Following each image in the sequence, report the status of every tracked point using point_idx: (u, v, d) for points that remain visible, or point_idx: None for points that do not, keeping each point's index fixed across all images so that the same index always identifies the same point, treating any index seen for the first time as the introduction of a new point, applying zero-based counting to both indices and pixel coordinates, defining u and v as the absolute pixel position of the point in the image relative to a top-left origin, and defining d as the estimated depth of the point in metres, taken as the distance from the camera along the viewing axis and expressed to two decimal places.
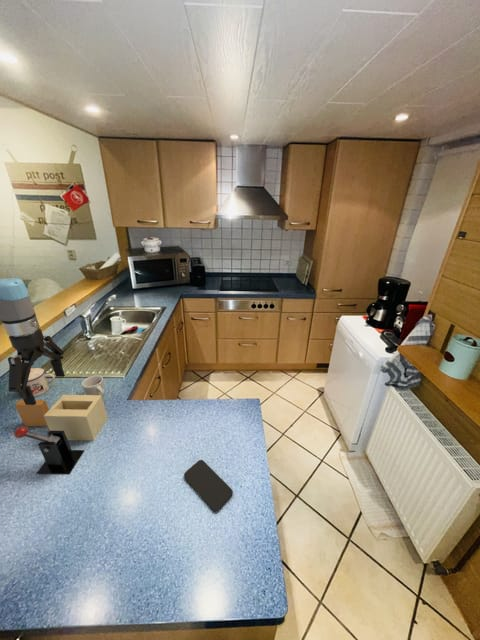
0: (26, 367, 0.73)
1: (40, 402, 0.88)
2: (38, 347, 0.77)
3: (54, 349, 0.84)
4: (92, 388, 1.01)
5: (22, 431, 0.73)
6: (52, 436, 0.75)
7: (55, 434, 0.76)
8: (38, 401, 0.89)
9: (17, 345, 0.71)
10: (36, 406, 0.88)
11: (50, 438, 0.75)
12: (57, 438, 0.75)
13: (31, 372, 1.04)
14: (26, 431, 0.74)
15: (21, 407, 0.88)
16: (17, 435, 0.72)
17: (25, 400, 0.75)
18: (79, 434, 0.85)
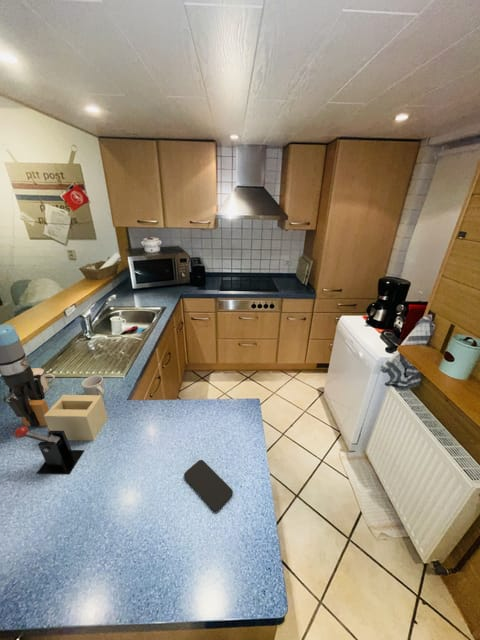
0: (23, 400, 0.85)
1: (40, 402, 0.88)
2: (29, 381, 0.86)
3: (38, 390, 0.91)
4: (92, 388, 1.01)
5: (22, 431, 0.73)
6: (52, 436, 0.75)
7: (55, 434, 0.76)
8: (38, 401, 0.89)
9: (9, 383, 0.80)
10: (36, 406, 0.88)
11: (50, 438, 0.75)
12: (57, 438, 0.75)
13: None
14: (26, 431, 0.74)
15: None
16: (17, 435, 0.72)
17: (30, 422, 0.90)
18: (79, 434, 0.85)
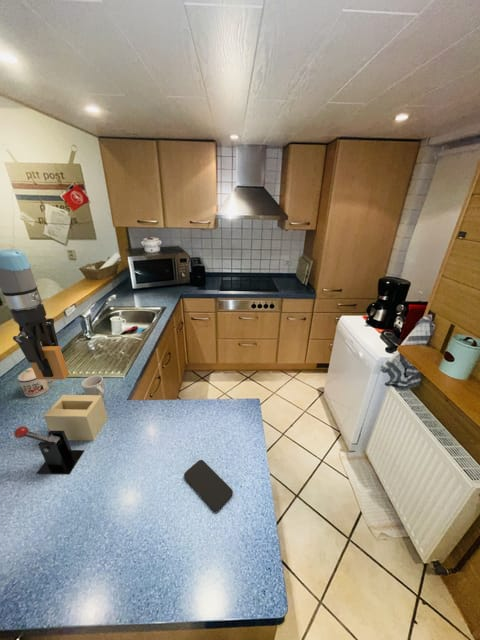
0: (35, 342, 0.74)
1: (54, 348, 0.77)
2: (41, 322, 0.75)
3: (51, 337, 0.80)
4: (92, 388, 1.01)
5: (22, 431, 0.73)
6: (52, 436, 0.75)
7: (55, 434, 0.76)
8: (51, 347, 0.78)
9: (19, 319, 0.69)
10: (50, 352, 0.76)
11: (50, 438, 0.75)
12: (57, 438, 0.75)
13: (31, 372, 1.04)
14: (26, 431, 0.74)
15: None
16: (17, 435, 0.72)
17: (43, 372, 0.79)
18: (79, 434, 0.85)
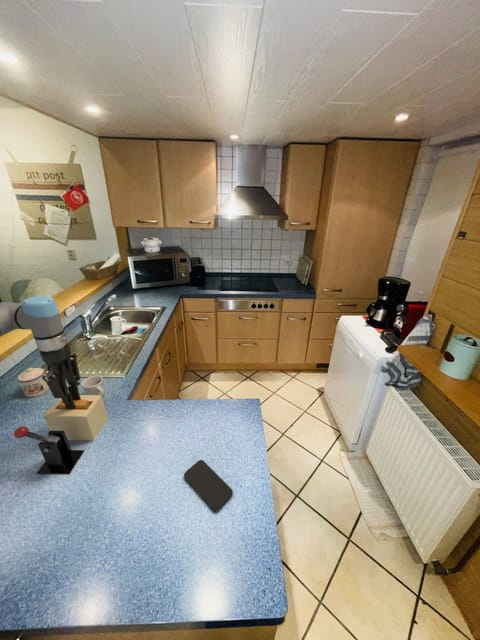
0: (61, 379, 0.79)
1: (83, 402, 0.86)
2: (66, 360, 0.80)
3: (74, 371, 0.85)
4: (92, 388, 1.01)
5: (22, 431, 0.73)
6: (52, 436, 0.75)
7: (55, 434, 0.76)
8: (81, 401, 0.86)
9: (47, 360, 0.74)
10: (80, 406, 0.85)
11: (50, 438, 0.75)
12: (57, 438, 0.75)
13: (31, 372, 1.04)
14: (26, 431, 0.74)
15: (64, 407, 0.85)
16: (17, 435, 0.72)
17: (66, 405, 0.84)
18: (79, 434, 0.85)
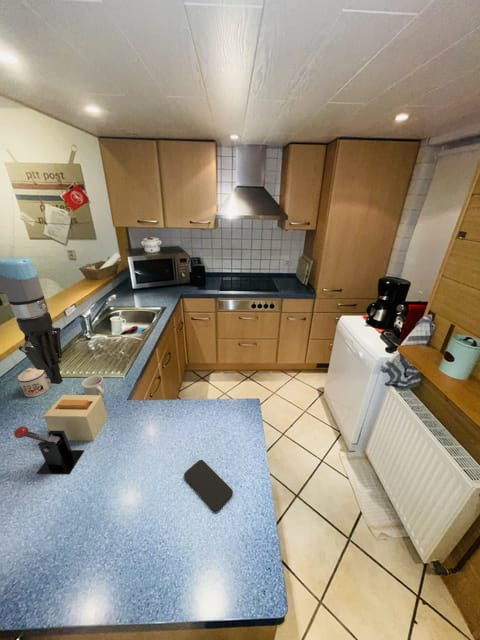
0: (42, 351, 0.72)
1: (83, 402, 0.86)
2: (47, 331, 0.73)
3: (55, 346, 0.78)
4: (92, 388, 1.01)
5: (22, 431, 0.73)
6: (52, 436, 0.75)
7: (55, 434, 0.76)
8: (81, 401, 0.86)
9: (24, 328, 0.67)
10: (80, 406, 0.85)
11: (50, 438, 0.75)
12: (57, 438, 0.75)
13: (31, 372, 1.04)
14: (26, 431, 0.74)
15: (64, 407, 0.85)
16: (17, 435, 0.72)
17: (51, 379, 0.78)
18: (79, 434, 0.85)
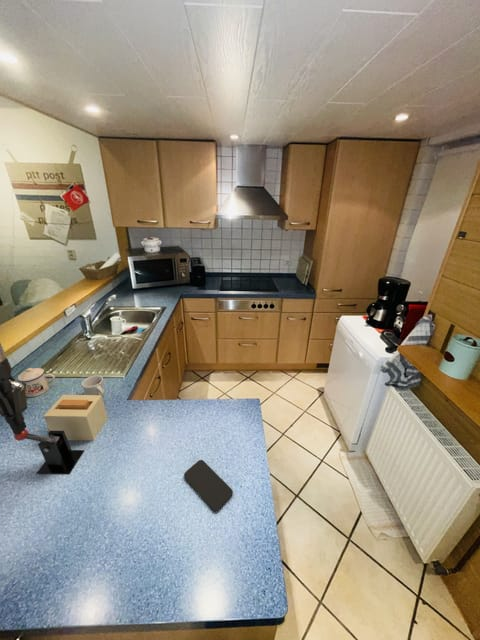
0: None
1: (83, 402, 0.86)
2: None
3: None
4: (92, 388, 1.01)
5: (21, 433, 0.73)
6: (51, 436, 0.75)
7: (55, 434, 0.76)
8: (81, 401, 0.86)
9: None
10: (80, 406, 0.85)
11: (49, 438, 0.75)
12: (57, 438, 0.75)
13: (31, 372, 1.04)
14: (25, 433, 0.74)
15: (64, 407, 0.85)
16: (17, 437, 0.72)
17: None
18: (79, 434, 0.85)
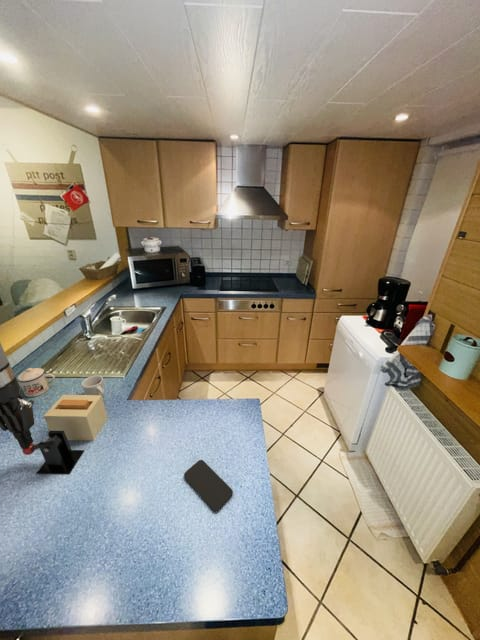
0: None
1: (83, 402, 0.86)
2: (6, 403, 0.67)
3: None
4: (92, 388, 1.01)
5: None
6: (49, 437, 0.76)
7: (55, 434, 0.76)
8: (81, 401, 0.86)
9: None
10: (80, 406, 0.85)
11: (47, 440, 0.75)
12: (53, 436, 0.75)
13: (31, 372, 1.04)
14: (30, 446, 0.76)
15: (64, 407, 0.85)
16: (24, 452, 0.75)
17: None
18: (79, 434, 0.85)
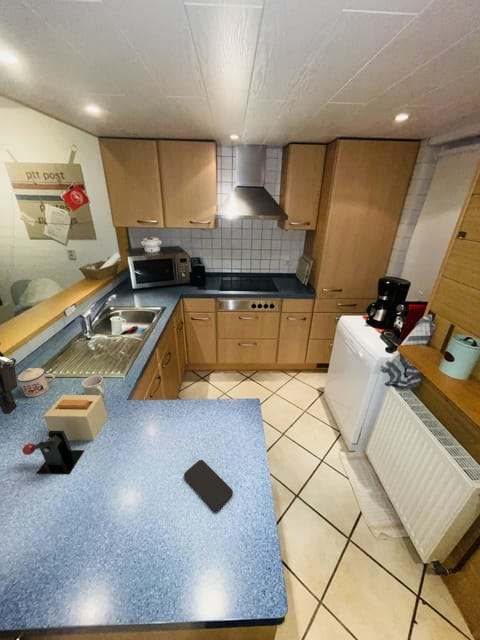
0: None
1: (83, 402, 0.86)
2: None
3: None
4: (92, 388, 1.01)
5: (26, 447, 0.76)
6: (49, 437, 0.76)
7: (55, 434, 0.76)
8: (81, 401, 0.86)
9: None
10: (80, 406, 0.85)
11: (47, 440, 0.75)
12: (53, 436, 0.75)
13: (31, 372, 1.04)
14: (30, 446, 0.76)
15: (64, 407, 0.85)
16: (24, 452, 0.75)
17: None
18: (79, 434, 0.85)
